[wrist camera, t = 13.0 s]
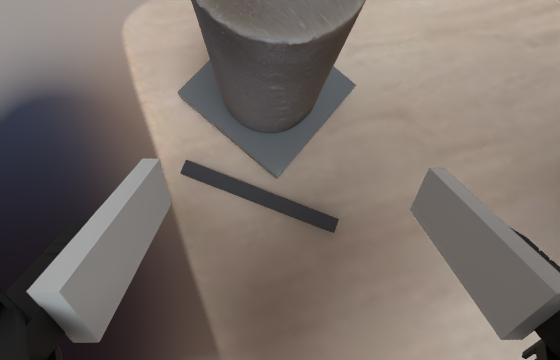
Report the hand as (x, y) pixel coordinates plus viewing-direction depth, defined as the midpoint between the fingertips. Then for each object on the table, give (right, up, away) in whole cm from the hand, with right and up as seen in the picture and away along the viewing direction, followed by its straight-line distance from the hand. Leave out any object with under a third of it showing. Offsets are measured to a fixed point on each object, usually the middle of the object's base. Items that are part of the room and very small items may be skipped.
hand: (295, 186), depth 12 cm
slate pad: (-2, +10, +14) cm, 17 cm away
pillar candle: (-2, +10, +13) cm, 16 cm away
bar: (-3, -1, +13) cm, 13 cm away
